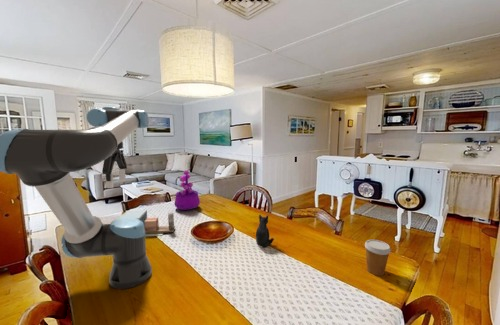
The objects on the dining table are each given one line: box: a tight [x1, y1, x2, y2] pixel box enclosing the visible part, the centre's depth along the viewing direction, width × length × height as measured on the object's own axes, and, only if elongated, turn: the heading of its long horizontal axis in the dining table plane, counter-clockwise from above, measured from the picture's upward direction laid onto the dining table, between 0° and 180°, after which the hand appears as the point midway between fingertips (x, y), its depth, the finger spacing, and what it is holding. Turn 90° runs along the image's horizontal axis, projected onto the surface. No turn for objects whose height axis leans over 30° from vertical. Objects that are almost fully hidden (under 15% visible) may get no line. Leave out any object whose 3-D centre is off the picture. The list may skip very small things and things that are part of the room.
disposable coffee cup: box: [364, 239, 392, 277], centre depth 95 cm, size 10×10×12 cm
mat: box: [145, 233, 164, 237], centre depth 134 cm, size 11×10×1 cm
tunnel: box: [117, 209, 148, 229], centre depth 132 cm, size 14×33×11 cm, turn 97°
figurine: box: [255, 214, 275, 248], centre depth 118 cm, size 10×10×15 cm
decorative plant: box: [174, 169, 201, 211], centre depth 173 cm, size 19×18×30 cm
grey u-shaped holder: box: [144, 212, 176, 234], centre depth 133 cm, size 7×16×10 cm, turn 97°
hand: (116, 184), depth 110 cm, fingers open, 13 cm apart
